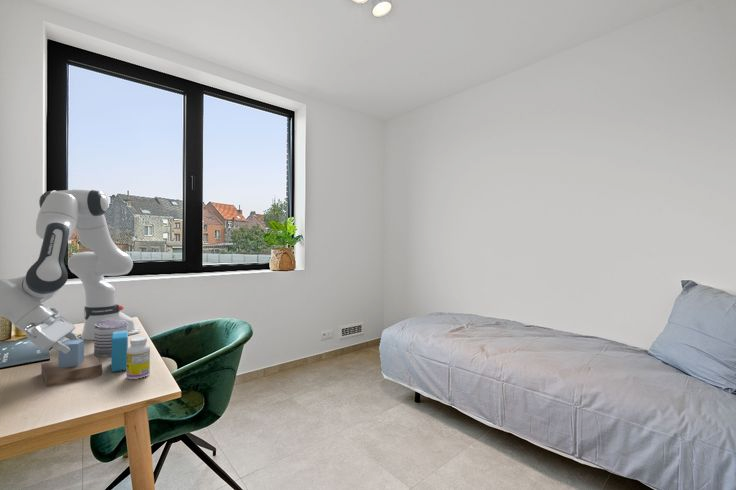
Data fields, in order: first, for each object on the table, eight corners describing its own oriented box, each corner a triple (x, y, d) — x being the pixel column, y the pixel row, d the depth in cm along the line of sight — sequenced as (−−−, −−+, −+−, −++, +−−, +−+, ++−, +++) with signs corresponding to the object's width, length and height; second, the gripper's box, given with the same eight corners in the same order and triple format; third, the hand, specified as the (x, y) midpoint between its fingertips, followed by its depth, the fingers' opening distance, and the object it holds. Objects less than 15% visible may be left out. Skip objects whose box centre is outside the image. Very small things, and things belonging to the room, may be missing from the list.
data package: (112, 362, 131) (113, 330, 131) (127, 360, 133) (128, 329, 133) (111, 373, 121) (111, 339, 121) (127, 371, 123) (127, 337, 123)
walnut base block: (93, 365, 129) (93, 354, 129) (101, 376, 120) (102, 364, 120) (41, 375, 119) (41, 363, 119) (46, 388, 110) (46, 375, 109)
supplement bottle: (128, 373, 121) (129, 336, 121) (151, 371, 124) (151, 335, 123) (124, 381, 115) (124, 342, 115) (147, 378, 118) (148, 340, 117)
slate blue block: (65, 362, 121) (65, 340, 121) (83, 360, 123) (84, 339, 122) (58, 367, 116) (58, 345, 116) (77, 366, 118) (78, 343, 118)
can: (118, 345, 150) (118, 317, 150) (134, 350, 145) (135, 321, 145) (87, 353, 140) (87, 323, 140) (104, 358, 135) (104, 327, 135)
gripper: (31, 320, 107) (71, 349, 111) (57, 307, 125) (91, 332, 129) (11, 336, 105) (53, 365, 109) (41, 320, 124) (76, 345, 128)
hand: (74, 347), depth 119 cm, fingers open, 8 cm apart
